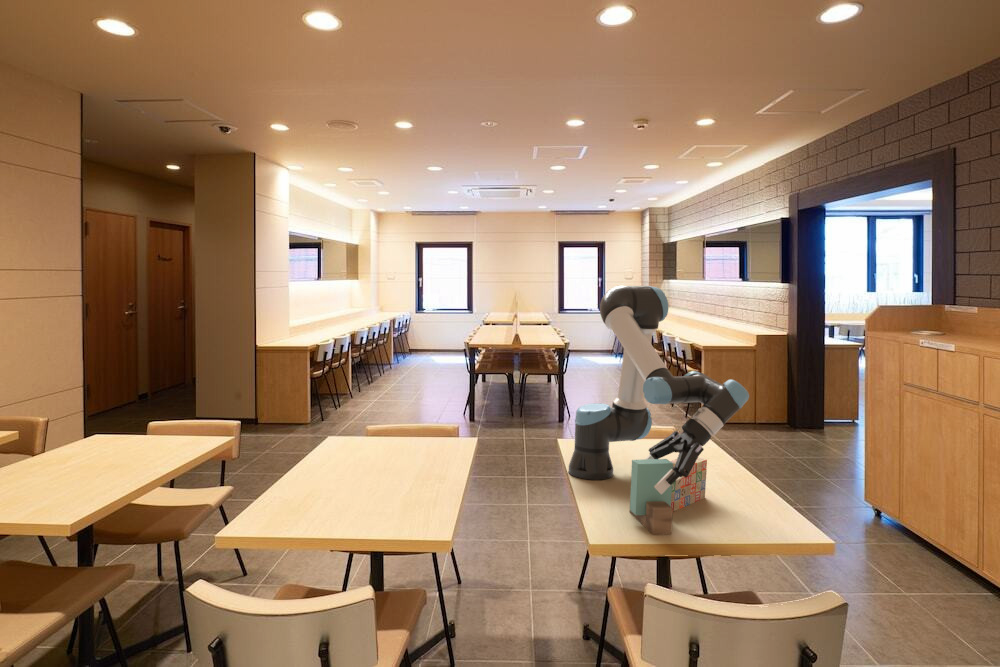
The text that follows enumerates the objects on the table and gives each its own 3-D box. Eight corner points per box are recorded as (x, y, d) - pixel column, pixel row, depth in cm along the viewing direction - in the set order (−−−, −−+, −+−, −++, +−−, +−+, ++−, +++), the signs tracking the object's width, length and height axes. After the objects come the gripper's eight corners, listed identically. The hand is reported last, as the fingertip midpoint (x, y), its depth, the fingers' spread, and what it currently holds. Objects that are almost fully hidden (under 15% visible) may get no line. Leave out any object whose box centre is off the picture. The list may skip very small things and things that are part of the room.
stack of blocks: (668, 514, 174) (670, 472, 173) (648, 508, 179) (650, 467, 178) (705, 498, 189) (707, 458, 188) (686, 492, 193) (688, 454, 192)
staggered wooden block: (629, 512, 175) (630, 488, 174) (646, 511, 176) (647, 487, 175) (653, 535, 159) (654, 508, 159) (671, 534, 160) (672, 507, 159)
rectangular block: (629, 509, 168) (632, 459, 167) (664, 508, 170) (666, 458, 169) (635, 515, 164) (637, 464, 163) (670, 513, 166) (673, 463, 165)
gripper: (672, 408, 179) (621, 459, 178) (716, 428, 155) (657, 488, 153) (688, 425, 181) (638, 477, 179) (734, 448, 156) (676, 508, 155)
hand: (646, 482), depth 166 cm, fingers open, 13 cm apart
